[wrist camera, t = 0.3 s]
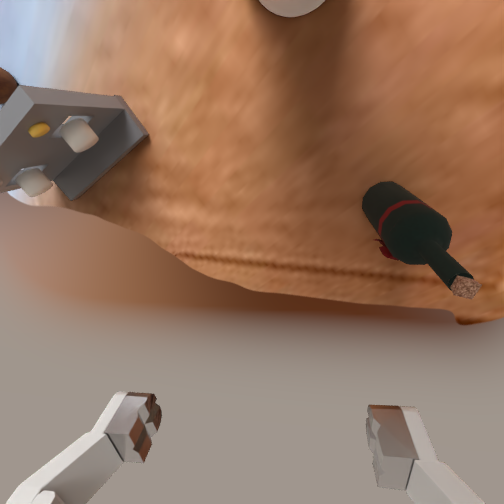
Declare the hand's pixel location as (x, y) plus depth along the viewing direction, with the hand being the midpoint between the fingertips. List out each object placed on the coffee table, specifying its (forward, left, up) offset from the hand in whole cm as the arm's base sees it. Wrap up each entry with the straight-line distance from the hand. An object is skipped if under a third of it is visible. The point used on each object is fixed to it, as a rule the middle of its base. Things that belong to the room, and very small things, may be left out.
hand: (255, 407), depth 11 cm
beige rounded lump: (-11, -34, -39) cm, 53 cm away
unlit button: (-4, -46, -39) cm, 60 cm away
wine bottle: (+7, +16, -48) cm, 51 cm away
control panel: (-7, -40, -47) cm, 62 cm away
